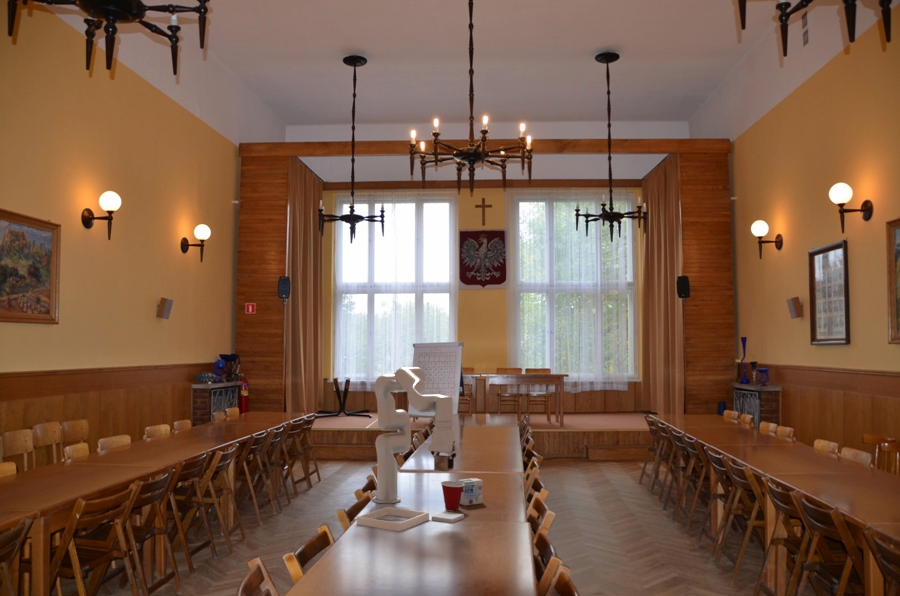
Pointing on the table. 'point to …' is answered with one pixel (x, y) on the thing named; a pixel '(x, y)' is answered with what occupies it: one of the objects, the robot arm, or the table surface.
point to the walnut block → (441, 463)
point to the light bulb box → (471, 491)
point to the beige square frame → (371, 521)
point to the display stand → (448, 517)
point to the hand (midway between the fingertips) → (444, 467)
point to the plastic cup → (452, 494)
